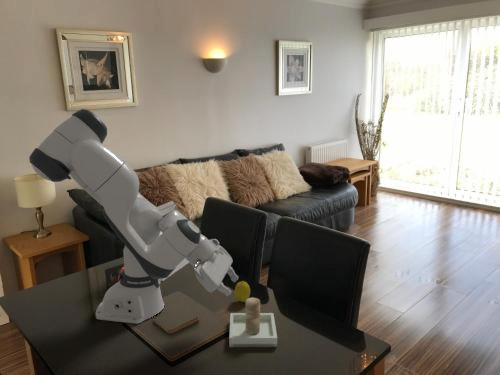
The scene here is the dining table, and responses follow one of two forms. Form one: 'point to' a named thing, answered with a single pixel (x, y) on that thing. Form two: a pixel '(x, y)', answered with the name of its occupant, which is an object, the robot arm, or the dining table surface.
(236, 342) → the tray
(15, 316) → the dining table surface
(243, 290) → the lemon
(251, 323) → the dowel
